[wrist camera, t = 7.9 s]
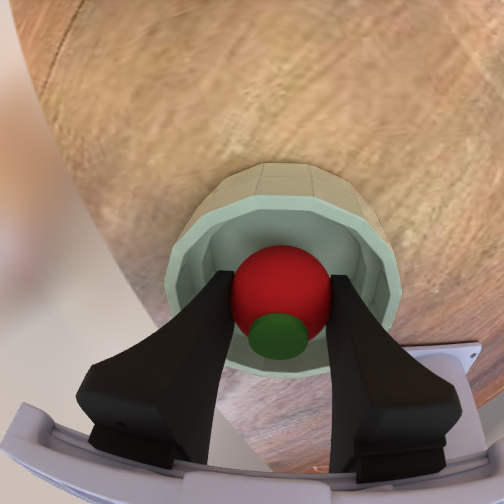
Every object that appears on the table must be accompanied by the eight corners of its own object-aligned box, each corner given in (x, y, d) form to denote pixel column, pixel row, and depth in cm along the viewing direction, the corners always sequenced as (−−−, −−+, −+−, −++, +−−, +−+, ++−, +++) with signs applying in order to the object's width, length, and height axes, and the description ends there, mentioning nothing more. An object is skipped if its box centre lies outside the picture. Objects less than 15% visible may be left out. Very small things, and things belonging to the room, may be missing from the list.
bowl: (362, 321, 17) (372, 379, 14) (204, 315, 18) (186, 369, 15) (392, 165, 12) (425, 203, 9) (181, 160, 13) (143, 196, 10)
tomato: (324, 303, 15) (329, 378, 11) (240, 300, 15) (224, 372, 12) (333, 227, 13) (347, 298, 9) (234, 225, 13) (211, 293, 9)
